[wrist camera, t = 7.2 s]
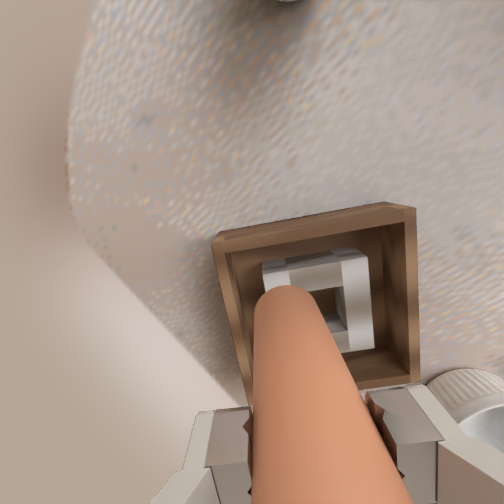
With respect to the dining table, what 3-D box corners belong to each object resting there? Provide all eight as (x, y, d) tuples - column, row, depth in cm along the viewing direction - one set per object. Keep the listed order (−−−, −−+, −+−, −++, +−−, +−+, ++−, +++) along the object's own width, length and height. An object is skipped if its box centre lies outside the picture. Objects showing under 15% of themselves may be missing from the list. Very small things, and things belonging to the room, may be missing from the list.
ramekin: (403, 442, 38) (434, 499, 31) (408, 362, 35) (445, 407, 28) (500, 436, 38) (554, 493, 31) (516, 354, 34) (580, 398, 27)
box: (219, 231, 30) (210, 244, 24) (384, 201, 29) (416, 208, 23) (249, 367, 35) (248, 405, 29) (392, 346, 34) (420, 381, 28)
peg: (249, 290, 13) (200, 1051, 2) (314, 280, 13) (764, 1054, 2) (259, 347, 14) (274, 1127, 2) (321, 338, 14) (649, 1136, 2)
